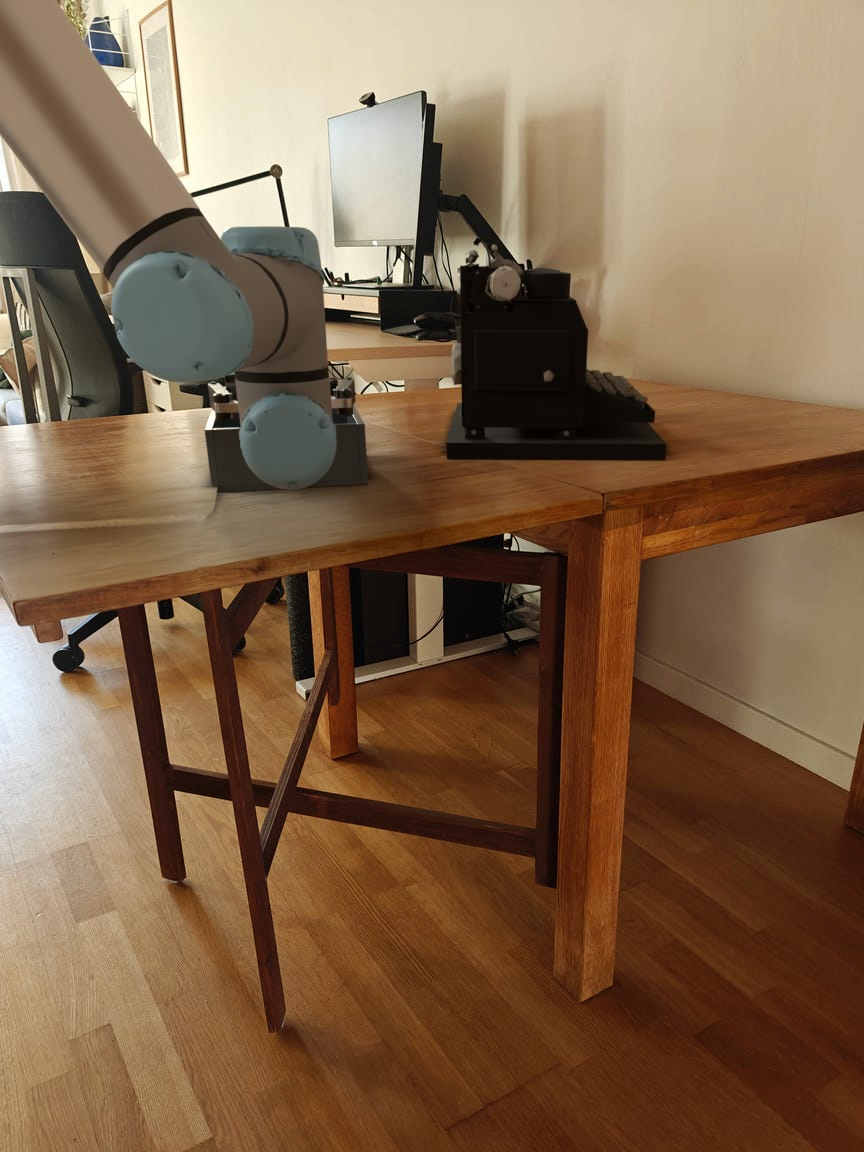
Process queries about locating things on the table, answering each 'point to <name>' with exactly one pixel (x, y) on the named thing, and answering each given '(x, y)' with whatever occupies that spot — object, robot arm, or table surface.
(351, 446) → the bin
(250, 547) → the table surface
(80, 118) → the robot arm
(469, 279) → the typewriter
